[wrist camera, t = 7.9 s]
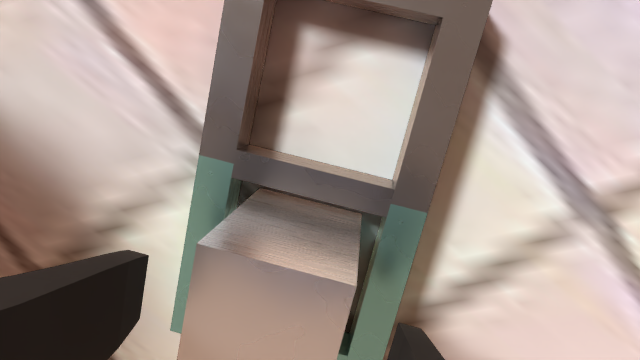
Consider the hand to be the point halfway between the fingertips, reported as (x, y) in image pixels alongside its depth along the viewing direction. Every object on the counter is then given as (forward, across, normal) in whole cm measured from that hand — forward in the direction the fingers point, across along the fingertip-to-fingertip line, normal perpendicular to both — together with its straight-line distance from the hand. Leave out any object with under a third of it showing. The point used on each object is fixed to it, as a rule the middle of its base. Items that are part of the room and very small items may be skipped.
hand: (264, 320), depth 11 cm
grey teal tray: (+5, 0, -3) cm, 6 cm away
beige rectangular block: (+5, 0, 0) cm, 5 cm away
